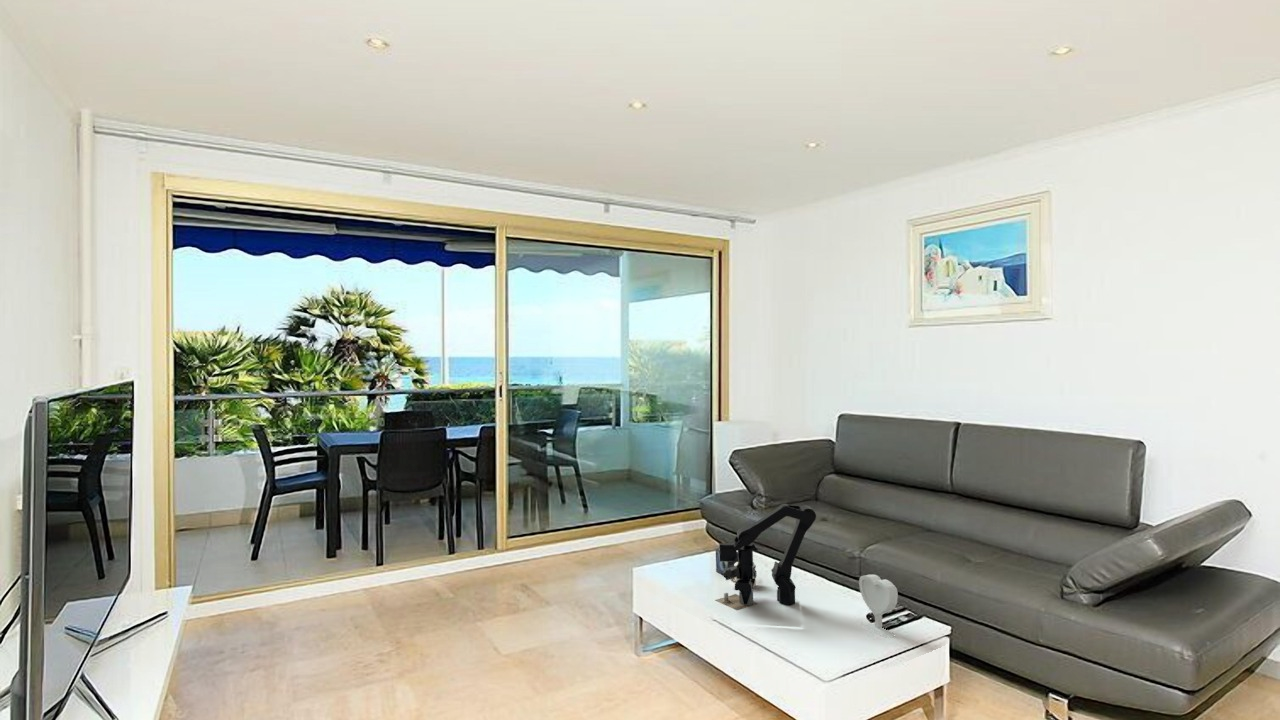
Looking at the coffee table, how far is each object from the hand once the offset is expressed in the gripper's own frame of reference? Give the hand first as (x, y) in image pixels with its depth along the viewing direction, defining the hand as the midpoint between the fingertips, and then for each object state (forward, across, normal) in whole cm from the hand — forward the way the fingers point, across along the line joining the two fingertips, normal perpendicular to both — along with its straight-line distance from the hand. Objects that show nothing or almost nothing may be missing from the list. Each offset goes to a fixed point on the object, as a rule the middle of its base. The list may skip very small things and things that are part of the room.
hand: (746, 601), depth 264 cm
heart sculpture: (+2, +13, +48) cm, 49 cm away
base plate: (+1, 0, -4) cm, 4 cm away
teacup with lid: (+2, -20, -4) cm, 20 cm away
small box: (+2, -35, -13) cm, 37 cm away
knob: (0, 0, 0) cm, 0 cm away
